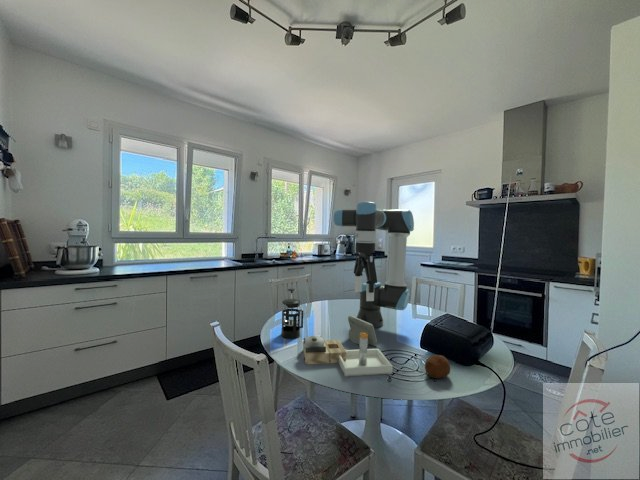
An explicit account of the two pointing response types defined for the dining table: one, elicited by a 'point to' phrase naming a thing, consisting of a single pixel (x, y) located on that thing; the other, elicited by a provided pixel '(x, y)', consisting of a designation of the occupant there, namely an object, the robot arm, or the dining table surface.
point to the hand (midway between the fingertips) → (363, 296)
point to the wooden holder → (322, 350)
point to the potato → (437, 366)
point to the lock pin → (363, 348)
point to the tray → (374, 365)
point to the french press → (290, 326)
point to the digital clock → (361, 330)
